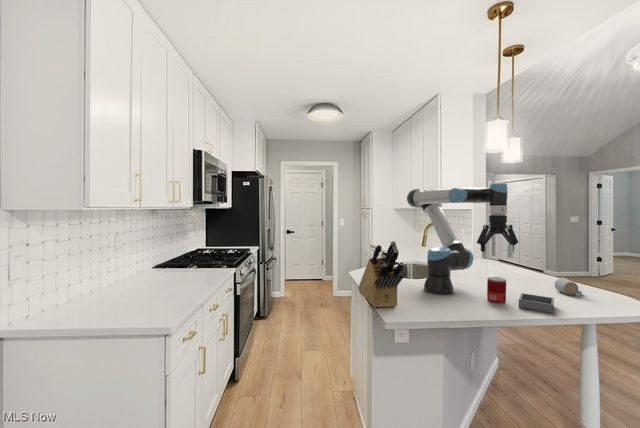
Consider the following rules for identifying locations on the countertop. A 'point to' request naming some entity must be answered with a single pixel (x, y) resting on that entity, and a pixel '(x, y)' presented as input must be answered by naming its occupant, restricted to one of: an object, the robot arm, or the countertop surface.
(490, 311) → the countertop surface
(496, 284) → the canned food
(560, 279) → the ceramic mug
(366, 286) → the knife block
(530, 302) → the tray
